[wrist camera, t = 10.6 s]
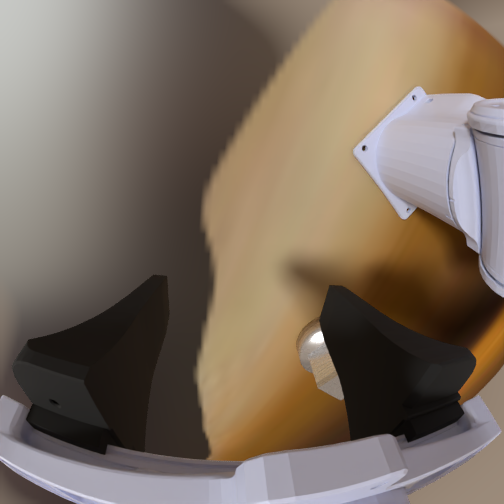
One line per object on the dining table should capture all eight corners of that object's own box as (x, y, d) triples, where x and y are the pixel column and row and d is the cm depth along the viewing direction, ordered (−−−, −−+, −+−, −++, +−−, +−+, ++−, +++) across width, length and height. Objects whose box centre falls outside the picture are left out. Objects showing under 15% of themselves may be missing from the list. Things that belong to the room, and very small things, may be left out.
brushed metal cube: (360, 347, 25) (375, 377, 21) (329, 369, 26) (340, 400, 22) (340, 330, 23) (356, 362, 20) (307, 354, 24) (317, 388, 21)
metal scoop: (282, 344, 26) (289, 375, 22) (335, 300, 24) (351, 328, 21) (365, 392, 32) (375, 414, 28) (404, 363, 30) (417, 384, 27)
